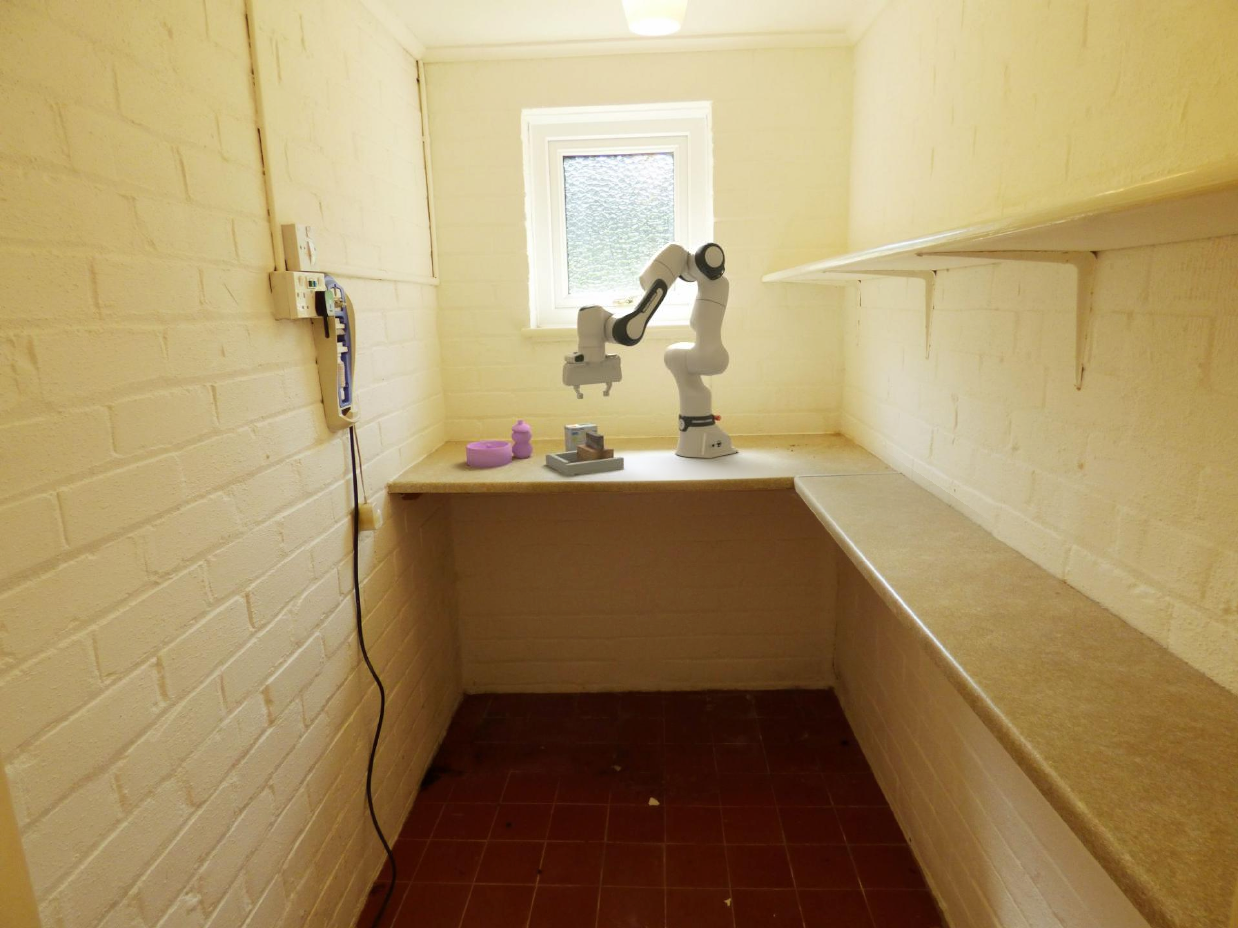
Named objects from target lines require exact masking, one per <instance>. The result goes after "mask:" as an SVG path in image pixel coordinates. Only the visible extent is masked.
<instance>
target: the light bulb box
mask: <svg viewBox="0 0 1238 928" xmlns="http://www.w3.org/2000/svg"><path fill="white" fill-rule="evenodd" d="M563 426H564V427H563V428H564V445H565V452H569V451H577V445H584V444H586V432H595V433H598V434H599V432H598V425H597V424H594V423H592V422H587V423H586V422H585V423H575V424H568V425H567V424H566V425H563Z"/></svg>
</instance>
